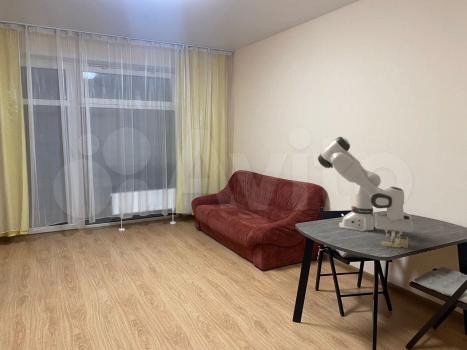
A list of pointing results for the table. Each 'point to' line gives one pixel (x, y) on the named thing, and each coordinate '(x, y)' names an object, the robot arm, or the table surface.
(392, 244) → the hinge leaves
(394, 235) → the pin
